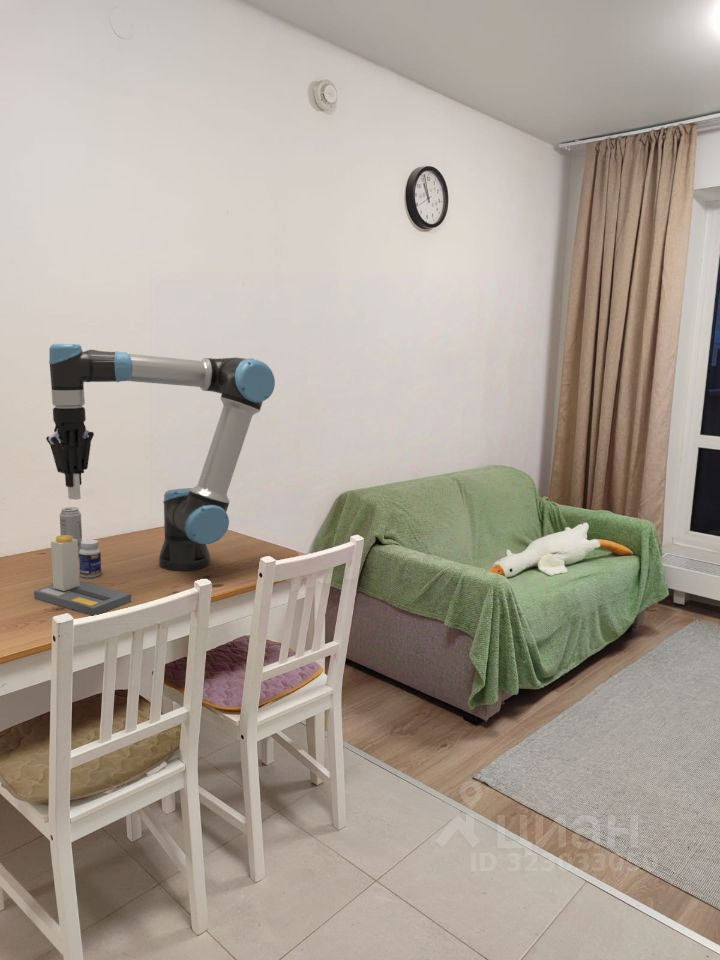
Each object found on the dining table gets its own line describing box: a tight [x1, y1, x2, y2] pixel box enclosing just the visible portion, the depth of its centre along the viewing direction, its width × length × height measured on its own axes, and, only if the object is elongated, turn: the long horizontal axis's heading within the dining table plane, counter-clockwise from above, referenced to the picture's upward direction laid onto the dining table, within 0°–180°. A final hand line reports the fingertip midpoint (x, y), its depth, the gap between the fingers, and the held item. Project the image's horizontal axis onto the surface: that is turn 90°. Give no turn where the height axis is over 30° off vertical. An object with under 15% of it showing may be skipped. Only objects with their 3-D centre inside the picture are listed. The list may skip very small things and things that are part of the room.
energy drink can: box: [59, 506, 83, 558], centre depth 221 cm, size 6×6×15 cm
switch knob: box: [50, 534, 80, 591], centre depth 188 cm, size 4×5×14 cm
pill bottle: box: [78, 539, 102, 579], centre depth 205 cm, size 6×6×10 cm
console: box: [33, 579, 132, 616], centre depth 187 cm, size 22×12×2 cm, turn 61°
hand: (74, 498), depth 185 cm, fingers closed
